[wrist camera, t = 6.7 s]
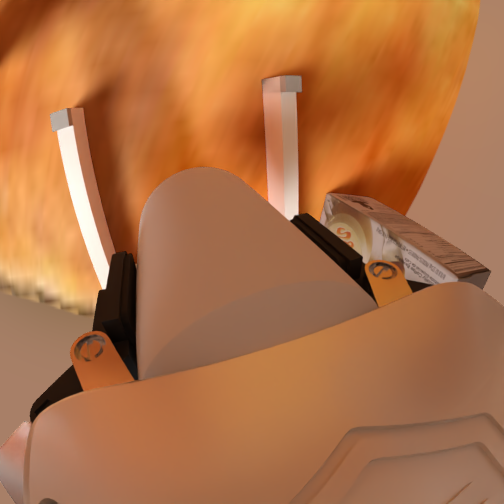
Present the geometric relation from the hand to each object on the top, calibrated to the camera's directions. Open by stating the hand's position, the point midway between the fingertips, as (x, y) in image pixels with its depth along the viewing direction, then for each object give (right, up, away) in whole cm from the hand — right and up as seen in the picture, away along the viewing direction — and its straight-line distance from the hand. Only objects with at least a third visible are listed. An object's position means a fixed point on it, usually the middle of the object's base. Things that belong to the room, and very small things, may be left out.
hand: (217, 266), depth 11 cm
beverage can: (-2, +2, +4) cm, 5 cm away
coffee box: (+11, +3, +19) cm, 21 cm away
